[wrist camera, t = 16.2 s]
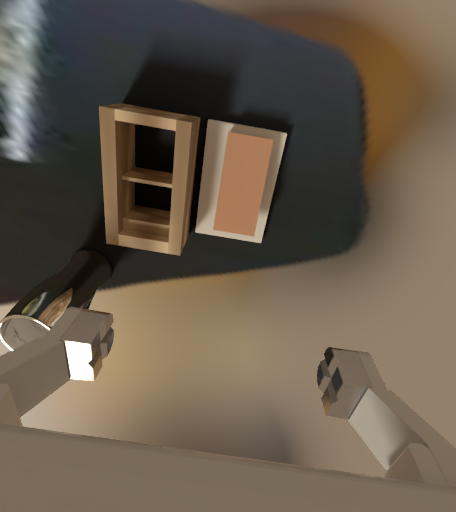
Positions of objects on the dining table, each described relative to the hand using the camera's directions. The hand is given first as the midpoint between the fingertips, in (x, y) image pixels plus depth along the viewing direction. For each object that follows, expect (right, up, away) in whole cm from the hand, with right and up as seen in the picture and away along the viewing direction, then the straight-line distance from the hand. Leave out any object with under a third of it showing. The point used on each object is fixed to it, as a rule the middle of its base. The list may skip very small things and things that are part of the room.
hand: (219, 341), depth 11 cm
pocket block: (-8, +13, +26) cm, 31 cm away
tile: (+2, +12, +24) cm, 27 cm away
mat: (+2, +12, +26) cm, 29 cm away
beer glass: (-20, +2, +34) cm, 39 cm away
